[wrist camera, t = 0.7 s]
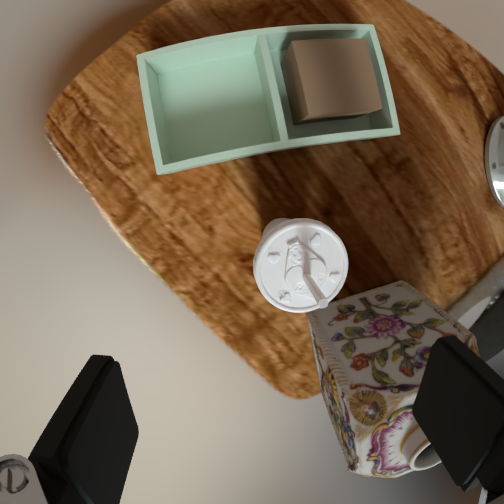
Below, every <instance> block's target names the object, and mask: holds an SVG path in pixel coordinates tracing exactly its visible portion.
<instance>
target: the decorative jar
mask: <svg viewBox="0 0 504 504" xmlns="http://www.w3.org/2000/svg"><path fill="white" fill-rule="evenodd" d="M306 315H307V320H308V325H309V330H310V335H311V341H312V345H313V352H314V357H315V362H316V368H317V372H318V378H319V383H320V389H321V392H322V396H323V398H324V401H325V404H326V407H327V410H328V413H329V416H330V419H331V421H332V424H333V427H334V430H335V433H336V435H337V438H338V440H339V443H340V445H341V448H342V451H343V454H344V456H345V459H346V461H347V464H348V467H347V469H348V470H349V471H352V472H353V473H357V474H362V475H364V476H366V477H390V478H395V477H399V476H402V475H404V474H406V473H409V472H411V471H414V470H424V469H427V468H430V467H433V466H435V465H437V464H438V463H440V462H442V461H441V459H440V458H439V456H438V455H437V453H436V451H435V450H434V448H433V447H432V445H431V443H430V442H429V440H428V439H427V437H426V435H425V434H424V432H423V431H422V429H421V428H420V426H419V425H418V423H417V421H416V420H415V418H414V417H413V414H412V407H413V404H414V401H415V398H416V395H417V393H418V390H419V387H420V384H421V380H422V377H423V374H424V371H425V368H426V364H427V361H428V357H429V354H430V350H431V347H432V345H433V344H434V343H435V341H436V340H437V339H438V338H440V337H445V336H450V335H454V336H456V337H457V338H458V339H460V340H461V341H462V342H463V343H464V344H465V345H466V346H467V347H469V348H470V349H471V350H472V351H473V352H474V353H475V354H476V355H477V356H479V357H480V354H479V351H478V347H477V343H476V342H477V339H476V337H475V336H474V335H473V334H472V333H471V332H470V331H469V330H467V329H466V328H465V327H464V326H462V325H461V324H460V323H459V322H458V321H457V320H455V319H454V318H453V317H452V316H451V315H449V314H448V313H447V312H446V311H444V310H443V309H442V308H441V307H439V306H438V305H437V304H436V303H434V302H433V301H432V300H430V299H429V298H428V297H427V296H425V295H424V294H423V293H421V292H420V291H418V290H417V289H416V288H414V287H413V286H411V285H410V284H408V283H407V282H405V281H403V280H400V281H397V282H394V283H391V284H388V285H384V286H381V287H377V288H375V289H371V290H368V291H365V292H362V293H359V294H356V295H353V296H349V297H346V298H343V299H340V300H337V301H333V302H330V303H328V306H327V307H325V308H318V309H315V310H312V311H308V312H307V313H306Z"/></svg>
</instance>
